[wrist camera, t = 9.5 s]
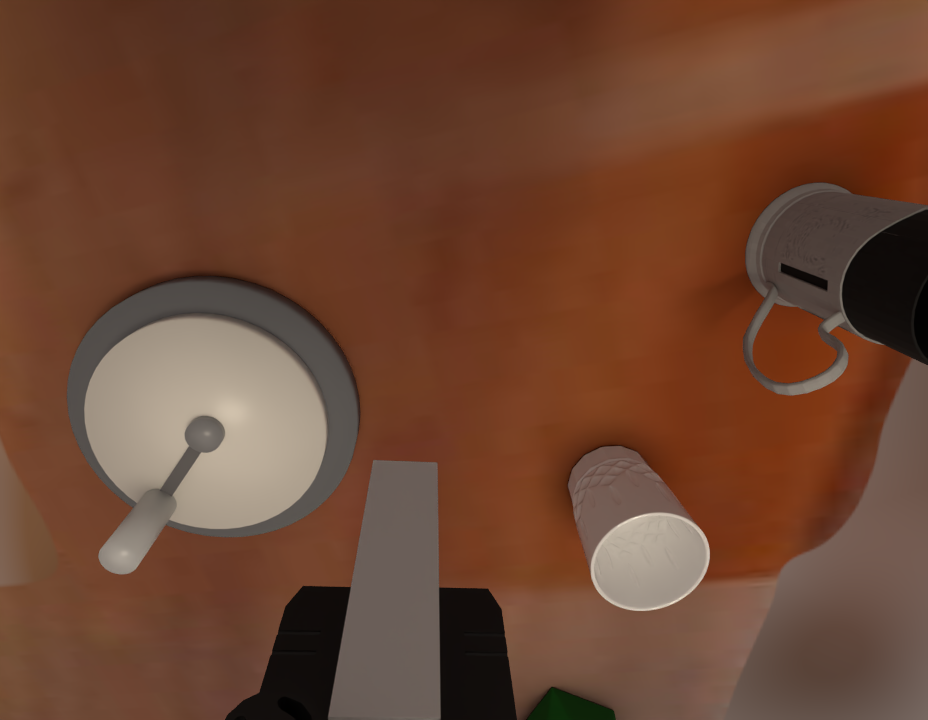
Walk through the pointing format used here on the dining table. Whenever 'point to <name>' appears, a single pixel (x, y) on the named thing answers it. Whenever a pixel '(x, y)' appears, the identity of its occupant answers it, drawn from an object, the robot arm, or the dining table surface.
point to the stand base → (257, 310)
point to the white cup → (635, 531)
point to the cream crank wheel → (202, 428)
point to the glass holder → (842, 272)
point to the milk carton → (569, 708)
